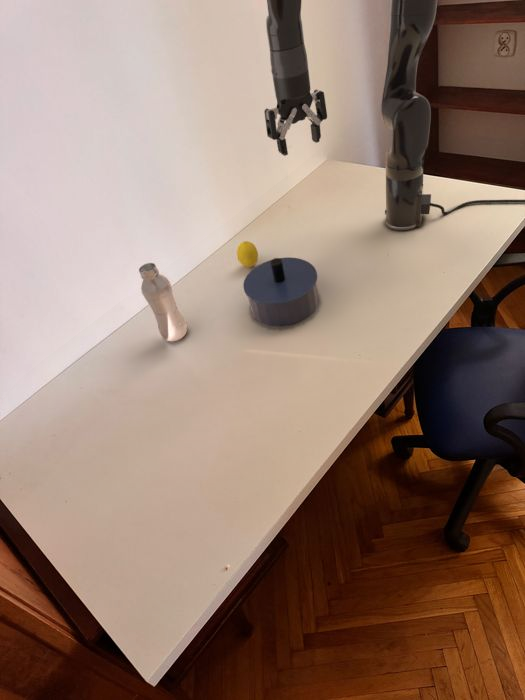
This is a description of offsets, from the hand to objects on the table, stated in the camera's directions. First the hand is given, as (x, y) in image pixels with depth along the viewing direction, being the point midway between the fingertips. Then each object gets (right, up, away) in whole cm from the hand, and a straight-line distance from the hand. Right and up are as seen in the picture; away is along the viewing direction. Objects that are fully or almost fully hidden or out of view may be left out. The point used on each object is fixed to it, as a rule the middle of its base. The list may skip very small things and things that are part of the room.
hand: (300, 147), depth 109 cm
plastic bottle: (-30, -43, +5) cm, 53 cm away
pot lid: (-5, -31, 0) cm, 31 cm away
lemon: (-12, -24, +20) cm, 33 cm away
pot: (-3, -36, +5) cm, 36 cm away
